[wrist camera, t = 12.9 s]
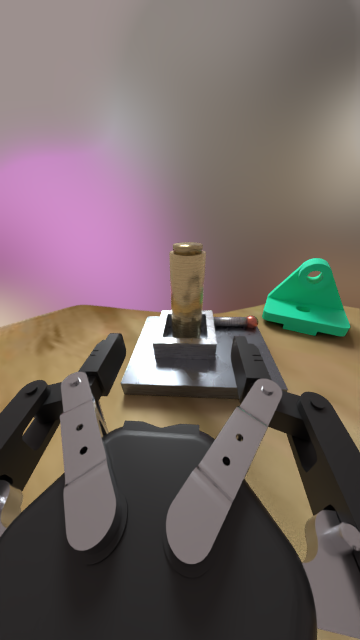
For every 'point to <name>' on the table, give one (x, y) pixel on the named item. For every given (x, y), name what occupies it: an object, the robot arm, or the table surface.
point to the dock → (192, 358)
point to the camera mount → (308, 302)
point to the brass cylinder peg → (187, 289)
